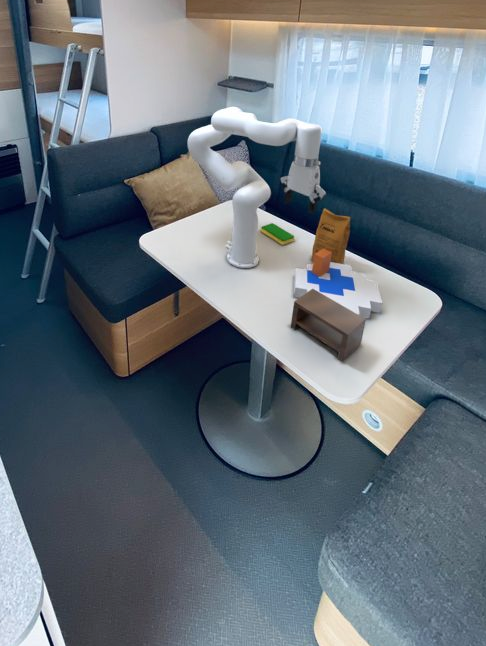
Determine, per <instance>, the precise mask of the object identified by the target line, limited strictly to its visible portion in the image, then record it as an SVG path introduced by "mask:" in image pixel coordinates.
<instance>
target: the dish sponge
mask: <svg viewBox="0 0 486 646" xmlns="http://www.w3.org/2000/svg"><path fill="white" fill-rule="evenodd" d="M260 232H261V233H263V234H265V235H266V236H268V237H269V238H270V239H272V240H274V241H275V242H277V243H278V244H280V245H282V246H284V245H286V244H289V243H292V242H294V241H295V235H293V234H292V233H290V232H288V231H287V230H286V229H283V228H281V226H278V225H277V224H275V223H273V222H270V223H268V224H265V225H262V226H261V228H260Z"/></svg>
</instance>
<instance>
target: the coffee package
mask: <svg viewBox="0 0 486 646" xmlns="http://www.w3.org/2000/svg"><path fill="white" fill-rule="evenodd" d="M350 228H351V217H350V216H347V215H340V214H339V215H337V214H335V213H333V212H331V211H330V210H329V209H327V208H323V210H322V213H321V215H320V219H319V222H318V226H317V228H316V232H315V237H314V241H313V245H312V249H311V250H312V252H311V261H312V262H313V261H314V254H315V253H317V252H319V251H320V250H322V249H326V250H328V251H330V252H332V256H331V262H333V263H339V264H345V258H346V250H347V247H348V242H349V237H350V234H351V230H350Z"/></svg>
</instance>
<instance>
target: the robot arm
mask: <svg viewBox="0 0 486 646" xmlns="http://www.w3.org/2000/svg"><path fill="white" fill-rule="evenodd" d="M322 134H323V129H322V127H321V125H319V124H317V123H313V122H305V121H302V120H301V119H300V120H299V119H296V118H292V117H291V118H290V117H289V118H286V119H283V120H281V121H278V122H276V123H275V122H274V123H273V122H266V121H261V120H258V119H257V116H256V114H254V113H252V112H244V111H243V110H242V108H239V107H237V106H229V107H224V108H222V109H218V110H217V111H215V112H214V113H213V114H212V116H211V119H210V124H208V125H205V126H201V127H199V128H196V129H194V130H193V131H192V132H191V133H190V134H189V135H188V138H187V150H188V152H189V155H190V156H191V157H192V159H193V160H194V161H195V162H196V163H197V164H199V166H201V167H202V168H203V170H204V171H205V172H207V173H208V175H209V176H210V177H211V178H212V179H213V180H214V181H215V182H216V183H217V184H218V185H219V187H220V188H221V189H222V190H224V191H227V192H231V191H233V190H235V189H237V188H239V187H240V188H239V189H238V190H236V192H234V194H233V196H232V201H231V202H232V210H233V219H232V233H231V240H227V242H226V244H225V245H224V247H225V249H228V252H227V254H226V260H227V262H228V263H229V264H230V265H232V266H233V267H236V268H239V269H251V268H254V267H256V266H257V265H258V264H259V260H260V259H259V256H258V254H256V249H257V241H258V240H257V238H258V229H259V228H258V227H259V216H258V212H257V211H258V208H259V207H261V206H262V205H264V204H265V203H266V202H268V201H269V199H270V198H271V195H272V191H271V188H270V186H269V184H268V183H267V182H266V181H265V180H264V178H263V177H262V176H260V174H258V173H257V171H255V169H254V168H253V167H252V166H251V165H250V164H248V163H247V162H245V161H241V160H237V161H233V162H231V163H230V162H228V161H227V159H225V158H224V157H223V156H222V155H221V154H220V153H219V152H218V151H215V150H213V149H212V148H211V147H214V146H217V145H220V144H222V143H223V142H224V141H226V140H227V139H229V137H231V136H232V135H233V136H234V135H235V136H242V137H246V138H248V139H249V140H251V141H253V142H255V143H257V144H261V145H267V146H273V147H281V146H285V145H287V144H289V143H292V142H295V147H294V148H295V149H294V157H293V161H292V163H291V165H290V168H289V170H288V175H285V176H282V177H280V182H281V186H282V188H283V191H284V204H288V203H291V202H292V200H293V193H294V192H296V193H298V194H302V195H303V196H307V197H308V198H309V200H310V201H309V203H308V211H307V213H308V214H312V213H315V212H316V210H317V205H318V202H319V201H321V200H323V199H324V197H325V196H326V195H327V193H326V191H325V190H324V189H323V188H322V187H321V186H320V183H321V170H320V166H321V164H322V162H321V161H320V160H319V154H320V147H321V142H322ZM293 191H294V192H293ZM317 194H318V195H317Z"/></svg>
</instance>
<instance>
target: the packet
mask: <svg viewBox="0 0 486 646" xmlns="http://www.w3.org/2000/svg"><path fill="white" fill-rule="evenodd" d="M331 256H332V252H330V251H328V250H326V249H322V250H320V251H319V252H317V253H315V254H314V261H312V265H313V267H312V273H313V274H315V275H317V276H319V277H321V276H322V275H324V274H325V273H327V272H328V271H329V268H330V262H331Z"/></svg>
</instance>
